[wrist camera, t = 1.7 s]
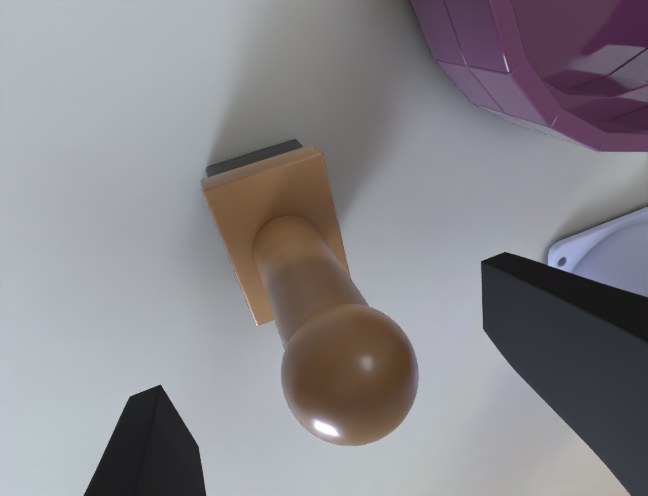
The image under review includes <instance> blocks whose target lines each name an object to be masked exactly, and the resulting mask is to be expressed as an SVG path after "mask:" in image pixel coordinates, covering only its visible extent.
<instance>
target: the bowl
mask: <svg viewBox="0 0 648 496" xmlns="http://www.w3.org/2000/svg"><path fill="white" fill-rule="evenodd" d="M411 3H412V5H413V8H414V10H415V13H416V15H417V18H418V21H419V23H420V26H421V28H422V31H423V33H424V36H425V39H426V41H427V44H428V46H429V49H430V52H431V54H432V57H433V58H434V59H435V61H436V63H437V64H438V65H439V66H440V67H441V68H442V70H443V71H444V72H445V73H446V74H447V75H448V77H449V78H450V79H451V80H452V81H453V82H454V84H455V85H456V86H457V87H458V88H459V89H460V91H461V92H462V93H463V94H464V95H465V96H466V98H467V99H468V100H469V101H470V102H472V103H473V104H474V105H476V106H478V107H480V108H482V109H484V110H486V111H488V112H490V113H493V114H495V115H497V116H499V117H501V118H503V119H505V120H507V121H509V122H511V123H513V124H516V125H519V126H522V127H525V128H528V129H531V130H534V131H537V132H540V133H543V134H546V135H549V136H552V137H555V138H558V139H561V140H564V141H567V142H570V143H573V144H576V145H579V146H582V147H585V148H588V149H591V150H594V151H598V152H648V0H411Z"/></svg>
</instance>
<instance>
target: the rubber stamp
mask: <svg viewBox="0 0 648 496" xmlns="http://www.w3.org/2000/svg"><path fill="white" fill-rule="evenodd" d="M206 172H207V176H208V178H205V179H203V180H201V185H202V190H203V194H204V196H205V199H206V201H207V204H208V206H209V209H210V211H211V214H212V216H213V219H214V221H215V224H216V226H217V229H218V231H219V234H220V236H221V239H222V242H223V244H224V247H225V249H226V252H227V254H228V257H229V259H230V262H231V264H232V267H233V269H234V272H235V274H236V277H237V279H238V282H239V284H240V287H241V289H242V292H243V294H244V297H245V299H246V302H247V304H248V307H249V309H250V312H251V314H252V317H253V319H254V322H255V324H256V325H257V326H258V325H261V324H264V323H267V322H269V321H272V320H275V323H276V326H277V329H278V331H279V334H280V337H281V340H282V343H283V346H284V349H285V352H284V355H283V359H282V366H281V381H282V388H283V392H284V396H285V399H286V401H287V404H288V406H289V408H290V410H291V412H292V413H293V415H294V416H295V418H296V419H297V420H298V421H299V422H300V424H301V425H302V426H303V427H304V428H305V429H307V430H308V431H309V432H310V433H312V434H313V435H315V436H316V437H318V438H320V439H322V440H324V441H326V442H329V443H333V444H336V445H341V446H361V445H366V444H369V443H372V442H375V441H377V440H380V439H382V438H383V437H385V436H387V435H388V434H390V433H391V432H392V431H394V430H395V429H396V428H397V427H398V426H399V425H400V424H401V423H402V422H403V420H404V419H405V417H406V416H407V414H408V413H409V411H410V409H411V407H412V405H413V402H414V400H415V397H416V393H417V388H418V379H419V378H418V364H417V359H416V355H415V352H414V349H413V347H412V345H411V342H410V341H409V339H408V337H407V336H406V334H405V333H404V331H403V330H402V329H401V328H400V326H399V325H398V324H397V323H396V322H395V321H393V320H392V319H391V318H390V317H388V316H387V315H385V314H384V313H382V312H380V311H378V310H376V309H374V308H371V307H369V305H368V304H367V302H366V301H365V299H364V298H363V296H362V295H361V293H360V292H359V290H358V289H357V287H356V286H355V284H354V283H353V281H352V280H351V277H350V272H349V268H348V264H347V259H346V255H345V251H344V246H343V242H342V237H341V233H340V229H339V224H338V220H337V216H336V211H335V207H334V202H333V198H332V194H331V189H330V185H329V181H328V176H327V172H326V167H325V163H324V159H323V154H322V153H321V152H320V151H319V150H318V149H317V148H316V147H315V146H314V145H309V146H305V147H303V146H302V145H301V144H300V143H299V142H298V141H297V140H296V139H294V140H291V141H288V142H285V143H282V144H278V145H275V146H272V147H269V148H266V149H262V150H259V151H256V152H253V153H250V154H247V155H243V156H240V157H237V158H234V159H231V160H228V161H224V162H221V163H218V164H215V165H212V166H208V167H206Z"/></svg>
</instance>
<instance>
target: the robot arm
mask: <svg viewBox="0 0 648 496" xmlns="http://www.w3.org/2000/svg"><path fill="white" fill-rule="evenodd" d="M481 272H482V306H483V329H484V331H485V332H486V333H487V335H488V336H489V338H490V339H491V340H492V342H493V343H494V344H495V346H496V347H497V349H498V350H499V351H500V352H501V354H502V355H503V356H504V358H505V359H506V360H507V361H508V363H509V364H510V365H511V366H512V367H513V368H514V370H515V371H516V372H517V373H518V374H519V375H520V376H521V377H522V378H523V379H524V380H525V381H526V382H527V383H528V384H529V385H530V386H531V387H532V388H533V389H534V390H535V391H536V393H537V394H538V395H539V396H540V397H541V398H542V399H543V400H544V401H545V402H546V403H547V404H548V405H549V406H550V407H551V408H552V409H553V410H554V411H555V412H556V413H557V414H558V415H559V416H560V417H561V418H562V419H563V420H564V421H565V422H566V423H567V424H568V425H569V426H570V427H571V428H572V429H573V430H574V431H575V432H576V433H577V434H578V436H579V437H580V438H581V439H582V440H583V441H584V442H585V443H586V444H587V445H588V446H589V447H590V448H591V449H592V450H593V451H594V452H595V453H596V455H597V456H598V457H599V458H600V459H601V460H602V461H603V462H604V463H605V464H606V466H607V467H608V468H609V469H610V470H611V472H612V473H613V474H614V475H615V477H616V478H617V479H618V480H619V481H620V483H621V484H622V485H623V486H624V488H625V489H626V490H627V491H628V492H629V494H630V495H631V496H648V207H645V208H643V209H640V210H637V211H635V212H632V213H630V214H627V215H625V216H622V217H619V218H617V219H614V220H612V221H609V222H606V223H604V224H601V225H599V226H596V227H594V228H591V229H588V230H586V231H583V232H581V233H578V234H575V235H573V236H570V237H568V238H565V239H563V240H560V241H558V242H556V243H554V244H553V245H552V246H551V248H550V249H549V253H548V265H545V264H542V263H539V262H536V261H533V260H530V259H527V258H524V257H521V256H517V255H514V254H510V253H507V252H504V253H501V254H499V255H496V256H494V257H491V258H488V259H486V260H483V261H481ZM84 496H206V491H205V484H204V477H203V471H202V465H201V459H200V453H199V447H198V445H197V443H196V441H195V440H194V438H193V437H192V435H191V433H190V432H189V430H188V428H187V427H186V425H185V423H184V422H183V420H182V419H181V417H180V415H179V414H178V412H177V410H176V409H175V407H174V405H173V404H172V402H171V401H170V399H169V397H168V396H167V394H166V392H165V391H164V389H163V388H162V386H161V385H158V386H156V387H153V388H151V389H148V390H145V391H143V392H140V393H138V394H135V395H132V396H130V398H129V399H128V401H127V403H126V406H125V408H124V410H123V412H122V414H121V416H120V418H119V421H118V423H117V425H116V427H115V430H114V432H113V434H112V436H111V438H110V441H109V443H108V445H107V447H106V449H105V452H104V454H103V456H102V458H101V460H100V462H99V465H98V467H97V469H96V471H95V473H94V475H93V477H92V479H91V481H90V483H89V486H88V488H87V490H86V492H85V494H84Z"/></svg>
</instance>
